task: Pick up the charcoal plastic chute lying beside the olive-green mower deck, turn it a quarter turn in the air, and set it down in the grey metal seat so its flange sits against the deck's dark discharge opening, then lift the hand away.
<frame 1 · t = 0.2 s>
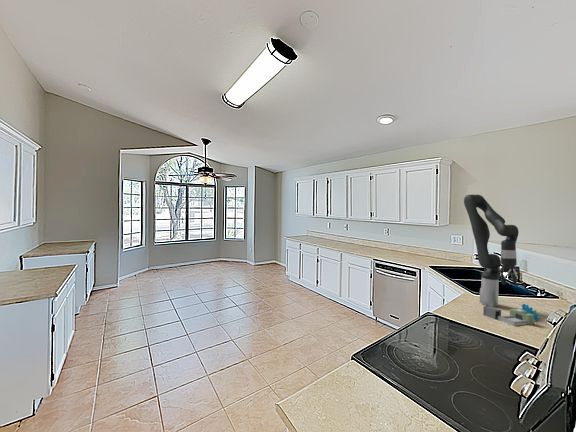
hand: (509, 283, 172), 17 cm above the counter, tool pointing down, fingers open, 8 cm apart
chute: (492, 316, 164), on the counter
gear: (530, 318, 161), on the counter
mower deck: (512, 321, 156), on the counter
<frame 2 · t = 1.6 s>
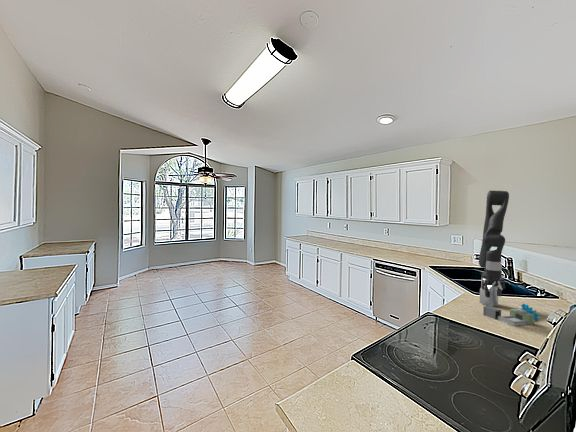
hand: (493, 296, 163), 12 cm above the counter, tool pointing down, fingers open, 8 cm apart
nothing on the counter moved.
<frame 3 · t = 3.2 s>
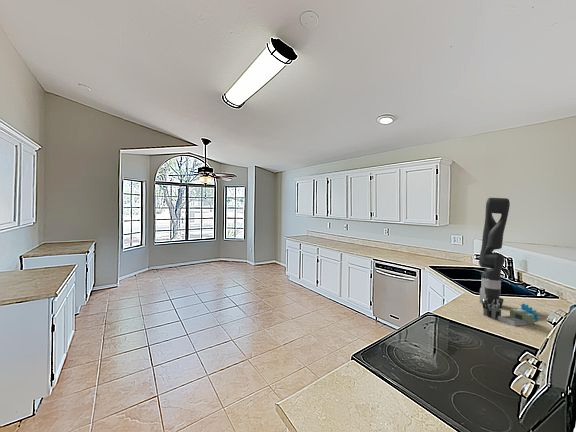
hand: (492, 316, 164), 0 cm above the counter, tool pointing down, fingers closed on chute, 4 cm apart
chute: (492, 316, 164), on the counter, touching gripper
everything else where it was.
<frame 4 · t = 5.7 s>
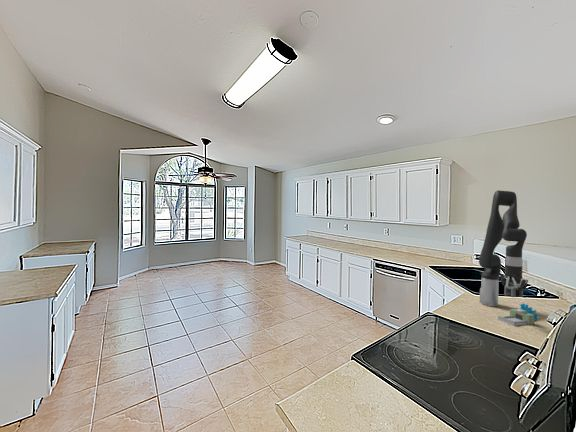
hand: (513, 295, 156), 15 cm above the counter, tool pointing down, fingers closed on chute, 4 cm apart
chute: (513, 295, 156), point 15 cm above the counter, touching gripper
everything else where it was.
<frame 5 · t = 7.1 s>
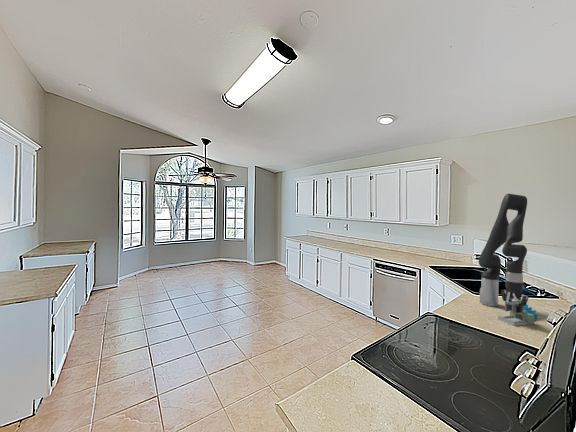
hand: (513, 311, 156), 6 cm above the counter, tool pointing down, fingers closed on chute, 4 cm apart
chute: (513, 311, 155), point 6 cm above the counter, touching gripper
everything else where it was.
when the fingers open (3 cm above the counter, at t = 8.2 s): chute drops 1 cm, resting on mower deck.
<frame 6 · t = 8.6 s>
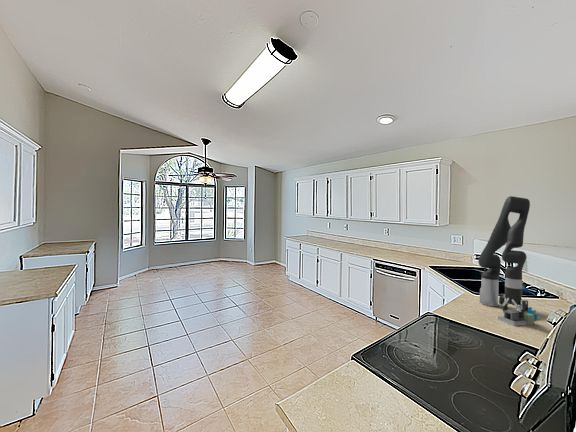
hand: (512, 315, 156), 4 cm above the counter, tool pointing down, fingers open, 8 cm apart
chute: (512, 320, 156), point 1 cm above the counter, touching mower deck
everything else where it was.
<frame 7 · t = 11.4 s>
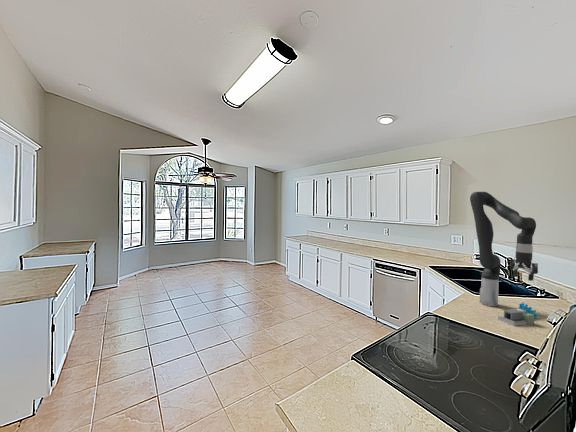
hand: (522, 278, 165), 22 cm above the counter, tool pointing down, fingers open, 8 cm apart
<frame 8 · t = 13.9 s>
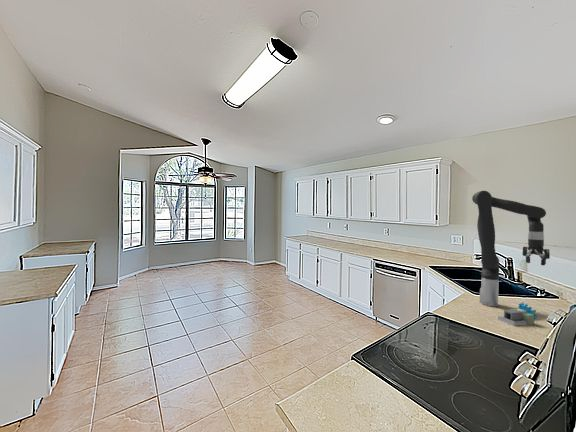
hand: (535, 264, 179), 28 cm above the counter, tool pointing down, fingers open, 8 cm apart
at the end: chute 0.1 cm off-centre on the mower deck, point 1.0 cm above the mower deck's base; chute tilted 0°; the gripper is holding nothing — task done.
